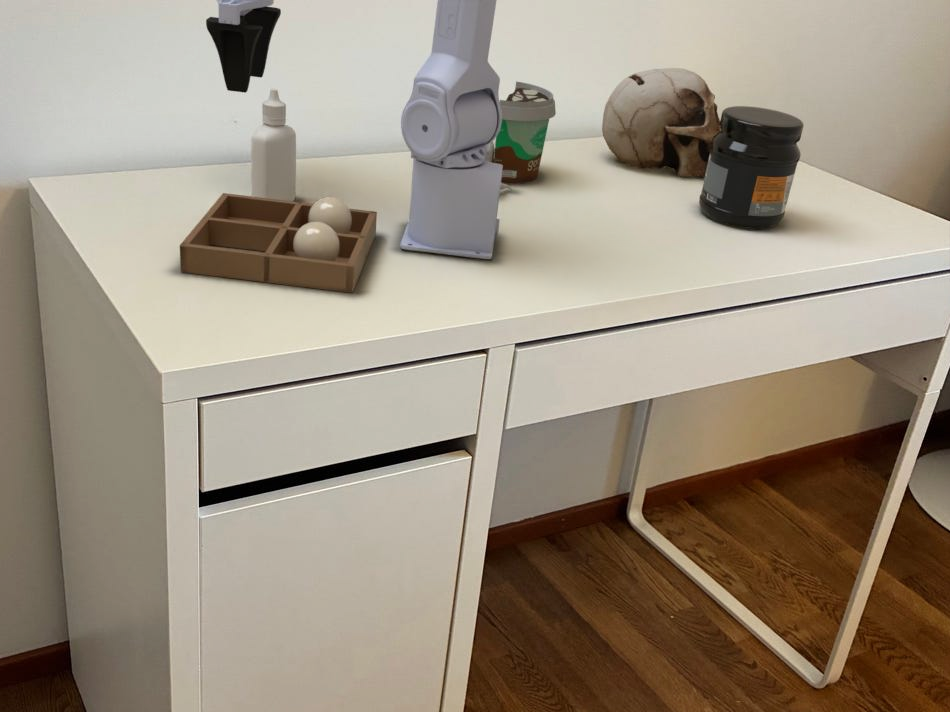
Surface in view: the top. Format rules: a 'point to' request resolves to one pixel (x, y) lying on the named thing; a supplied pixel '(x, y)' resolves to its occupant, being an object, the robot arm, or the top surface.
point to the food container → (523, 132)
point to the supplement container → (751, 167)
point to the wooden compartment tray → (272, 244)
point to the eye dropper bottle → (273, 153)
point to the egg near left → (331, 214)
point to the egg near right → (316, 242)
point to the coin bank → (662, 121)
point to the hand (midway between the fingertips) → (245, 83)
